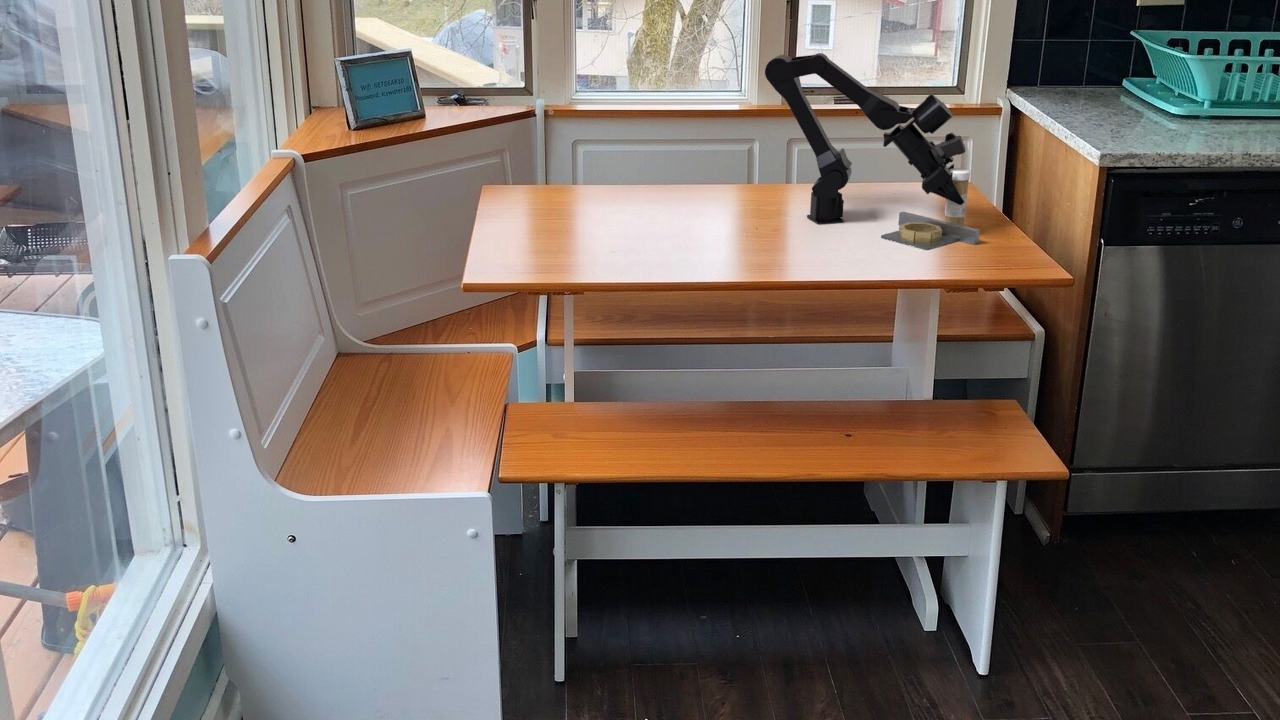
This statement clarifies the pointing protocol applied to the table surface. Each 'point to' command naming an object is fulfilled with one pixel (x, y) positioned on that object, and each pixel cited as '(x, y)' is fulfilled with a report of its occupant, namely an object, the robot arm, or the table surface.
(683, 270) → the table surface
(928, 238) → the plate
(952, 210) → the sprinkles bottle
